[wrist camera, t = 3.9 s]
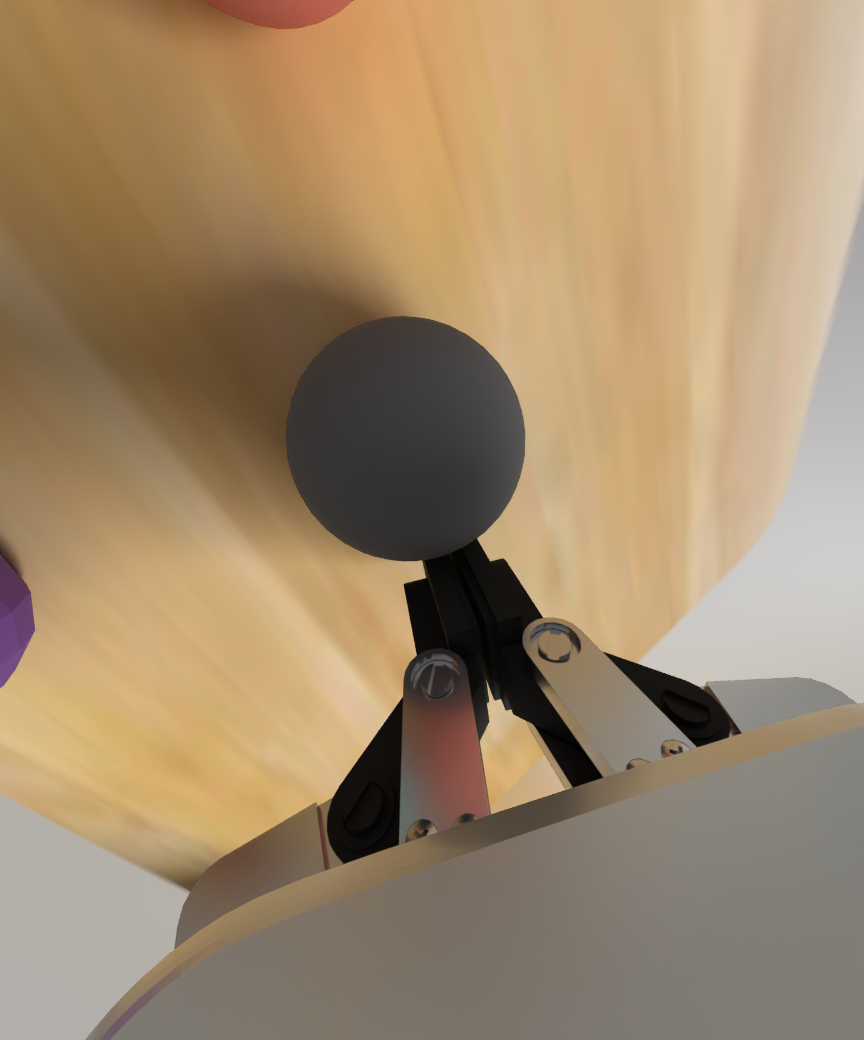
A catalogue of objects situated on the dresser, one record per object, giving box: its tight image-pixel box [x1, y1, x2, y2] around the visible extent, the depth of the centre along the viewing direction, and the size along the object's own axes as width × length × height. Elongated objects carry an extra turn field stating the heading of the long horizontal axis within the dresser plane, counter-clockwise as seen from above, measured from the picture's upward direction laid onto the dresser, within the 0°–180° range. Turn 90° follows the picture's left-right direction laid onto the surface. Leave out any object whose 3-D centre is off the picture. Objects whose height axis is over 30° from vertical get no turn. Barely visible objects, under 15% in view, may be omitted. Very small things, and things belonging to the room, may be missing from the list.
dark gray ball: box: [286, 316, 525, 561], centre depth 8 cm, size 6×6×6 cm
